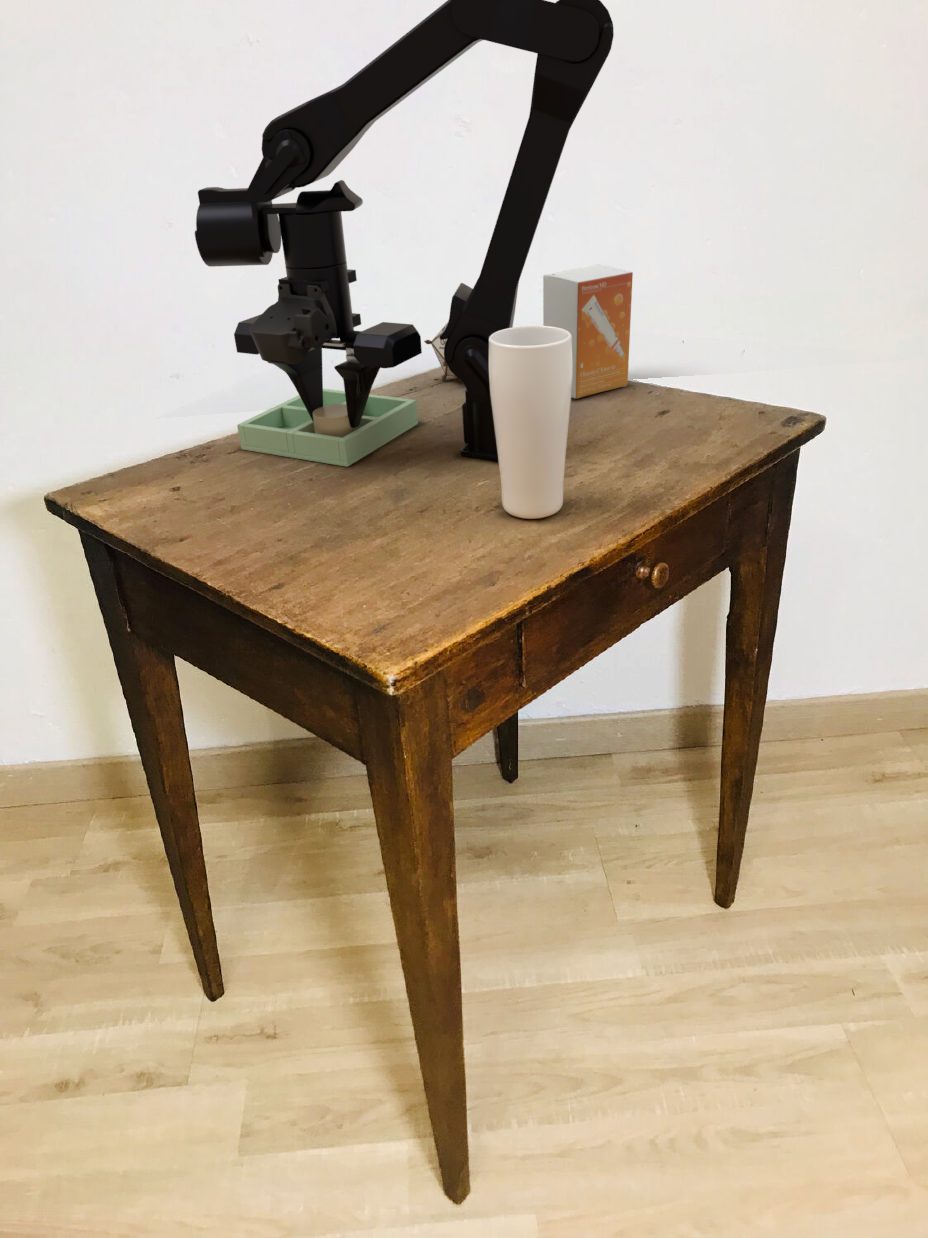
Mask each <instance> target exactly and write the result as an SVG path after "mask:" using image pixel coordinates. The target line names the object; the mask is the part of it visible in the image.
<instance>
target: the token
mask: <svg viewBox="0 0 928 1238" xmlns="http://www.w3.org/2000/svg"><path fill="white" fill-rule="evenodd" d="M313 421H314V428H315V434H321V435H328V436H334V437H341V438H343V437H345V436H347V435H348V434H350V433H352V432H354V431H355V430H357V429H358V426H357V427H355V428H351V427H350V423H349V419H348V414H347V406H346V405H345V404H334V405H327V406H323V407H320V408H317V409H316V410H314V411H313Z"/></svg>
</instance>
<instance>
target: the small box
mask: <svg viewBox="0 0 928 1238" xmlns="http://www.w3.org/2000/svg"><path fill="white" fill-rule="evenodd" d="M633 273H634V272H633V271H630V270H626V269H622V268H616V267H613V266H607V265H601V264H594V265H590V266H585V267H577V268H571V269H567V270H562V271H559V272H554V273H547V274H543V276H542V282H543V283H542V284H543V285H542V286H543V287H542V297H543V298H542V299H543V300H542V303H543V306H542V308H543V310H542V313H543V315H542V316H543V320H542V321H543V322H542V323H543V324H542V326H551V327H557V328H561V329H565V330H567V331H568V332H570V333H571V335H572V362H573V372H572V394H571V399H575V400H577V399H580V398H581V399H582V398H584V397H587V396H591V395H595V394H599V393H602V392H606V391H611V390H615V389H620V388H625V387H627V386H628V383H629V379H628V378H629V360H630V343H631V342H630V340H631V318H632V299H633V296H632V295H633V278H634V277H633V275H634V274H633Z"/></svg>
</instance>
